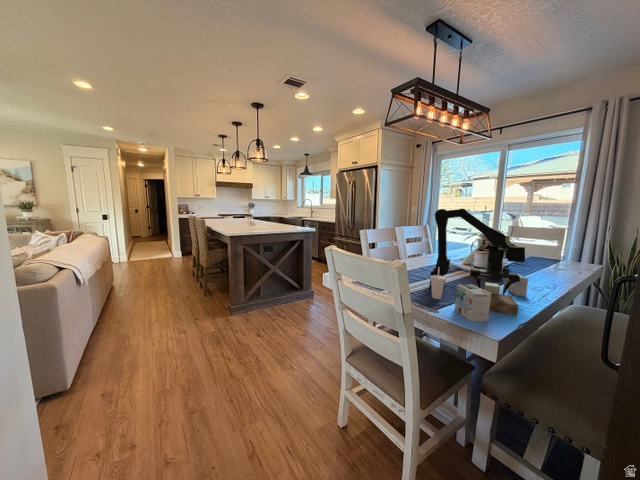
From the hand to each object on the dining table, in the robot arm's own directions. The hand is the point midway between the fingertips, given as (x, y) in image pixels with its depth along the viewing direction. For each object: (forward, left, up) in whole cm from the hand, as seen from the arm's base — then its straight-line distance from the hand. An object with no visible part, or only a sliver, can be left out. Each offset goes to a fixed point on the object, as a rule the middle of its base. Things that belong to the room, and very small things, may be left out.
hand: (491, 292), depth 119 cm
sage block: (0, 0, -2) cm, 2 cm away
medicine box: (+12, +12, -2) cm, 17 cm away
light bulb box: (-10, -27, -2) cm, 29 cm away
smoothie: (-23, -13, -2) cm, 26 cm away
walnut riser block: (0, -13, -2) cm, 13 cm away
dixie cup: (+7, +40, -2) cm, 41 cm away
